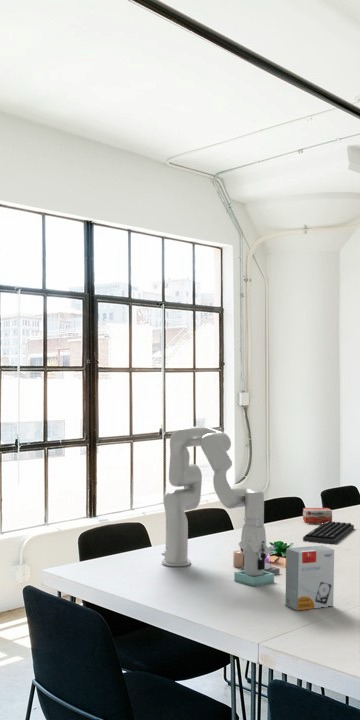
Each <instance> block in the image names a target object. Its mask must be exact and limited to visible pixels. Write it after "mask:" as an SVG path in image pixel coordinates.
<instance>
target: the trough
mask: <svg viewBox="0 0 360 720" xmlns="http://www.w3.org/2000/svg"><path fill="white" fill-rule="evenodd" d="M233 579H234V581H235V582H238V583H241V584H245V585H248V586H251V587H257V586H262V585H267V584H272V583H275V575H274V574H273V573H270V572H266V571H263V574H262V575H261V576H258V577H252V576H248V575H246V574H245V573H244V570H243V571H242V570H240V571H239V570H238V571H234V578H233Z"/></svg>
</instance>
